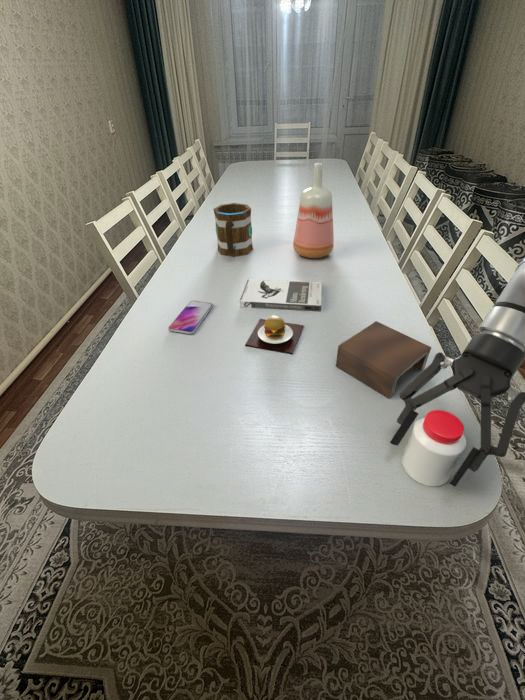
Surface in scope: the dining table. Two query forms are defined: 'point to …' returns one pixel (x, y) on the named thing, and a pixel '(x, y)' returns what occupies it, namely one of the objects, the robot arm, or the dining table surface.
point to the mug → (233, 229)
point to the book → (282, 295)
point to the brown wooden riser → (381, 357)
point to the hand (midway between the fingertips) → (421, 463)
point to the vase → (315, 220)
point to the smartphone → (190, 317)
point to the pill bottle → (434, 448)
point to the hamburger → (275, 335)
